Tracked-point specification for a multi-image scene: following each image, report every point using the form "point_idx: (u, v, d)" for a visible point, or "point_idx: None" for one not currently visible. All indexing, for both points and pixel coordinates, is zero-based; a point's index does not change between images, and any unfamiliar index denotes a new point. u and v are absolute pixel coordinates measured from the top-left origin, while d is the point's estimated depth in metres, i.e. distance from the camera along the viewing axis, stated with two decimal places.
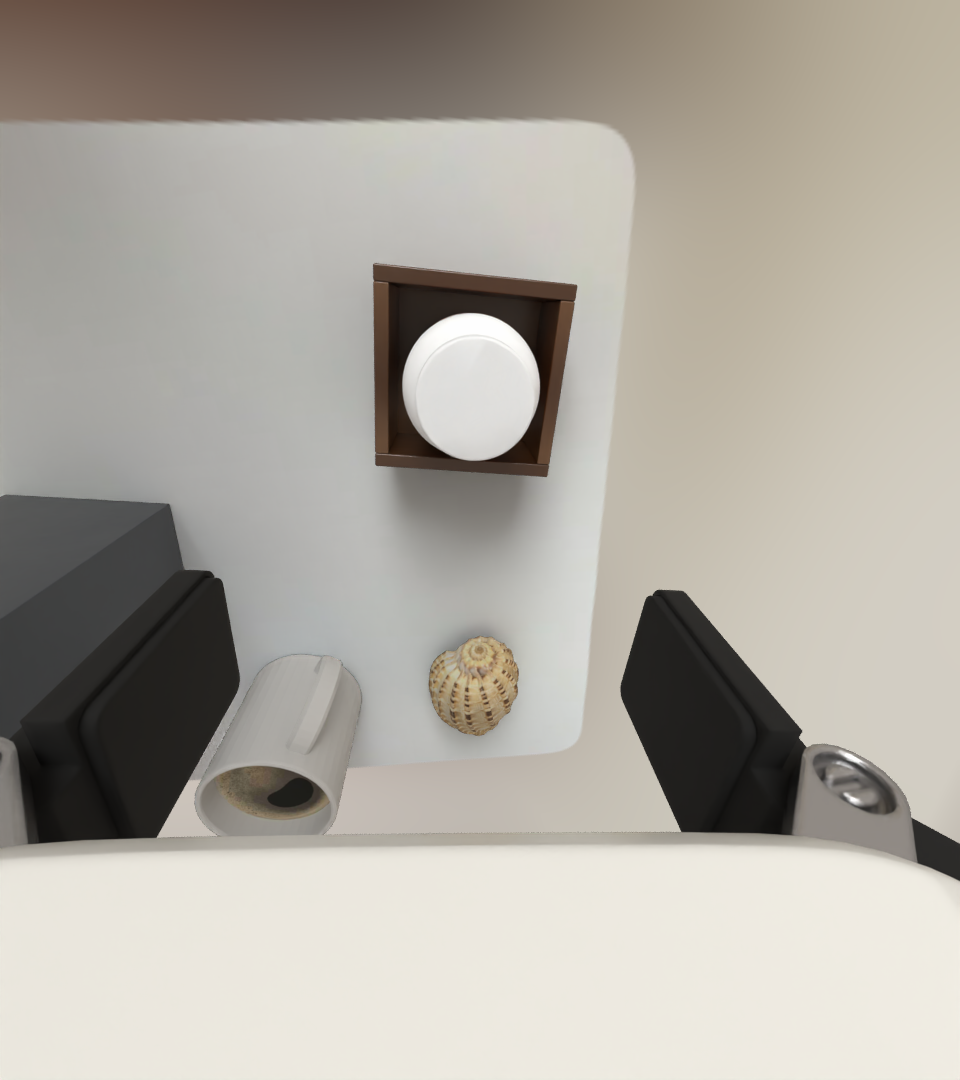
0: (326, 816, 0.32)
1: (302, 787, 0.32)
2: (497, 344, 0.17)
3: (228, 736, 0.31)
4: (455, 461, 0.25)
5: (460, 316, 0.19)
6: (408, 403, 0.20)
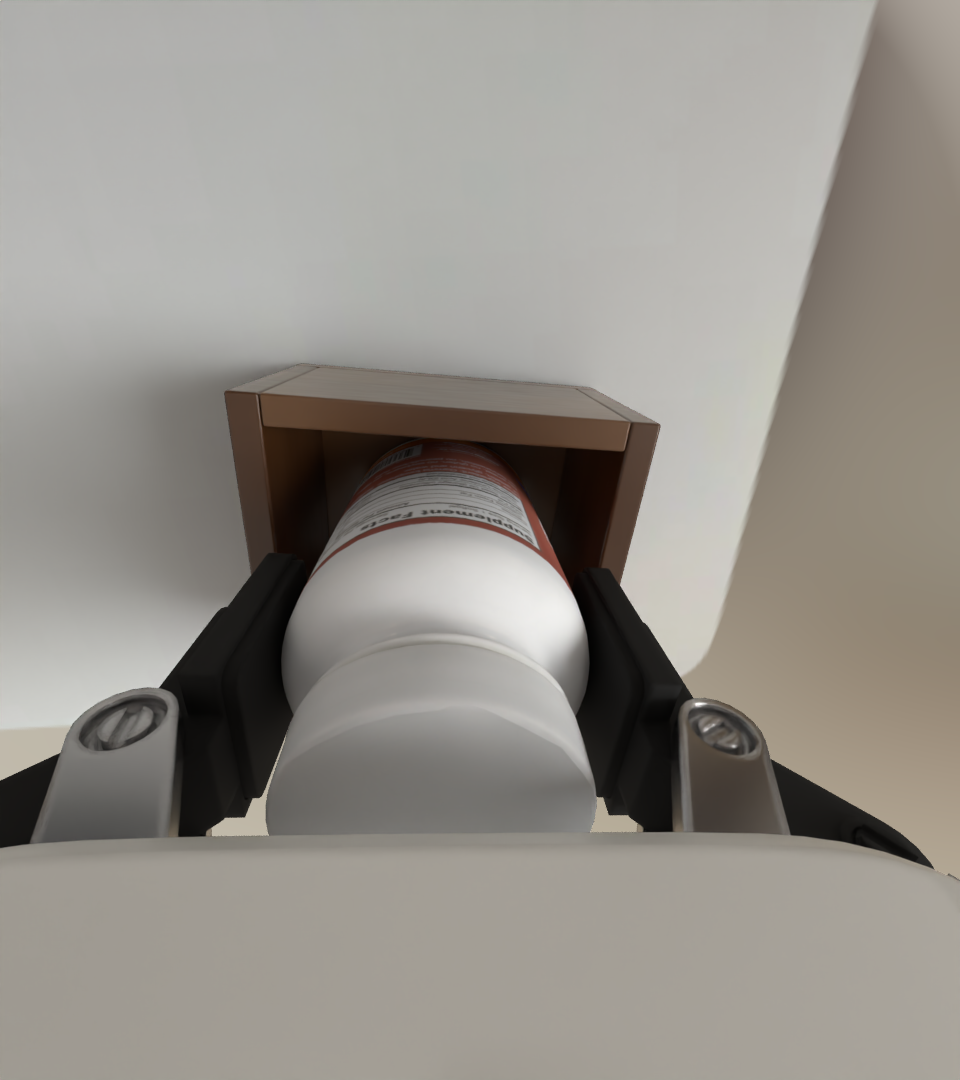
0: None
1: None
2: None
3: None
4: None
5: (588, 654, 0.09)
6: (404, 566, 0.08)
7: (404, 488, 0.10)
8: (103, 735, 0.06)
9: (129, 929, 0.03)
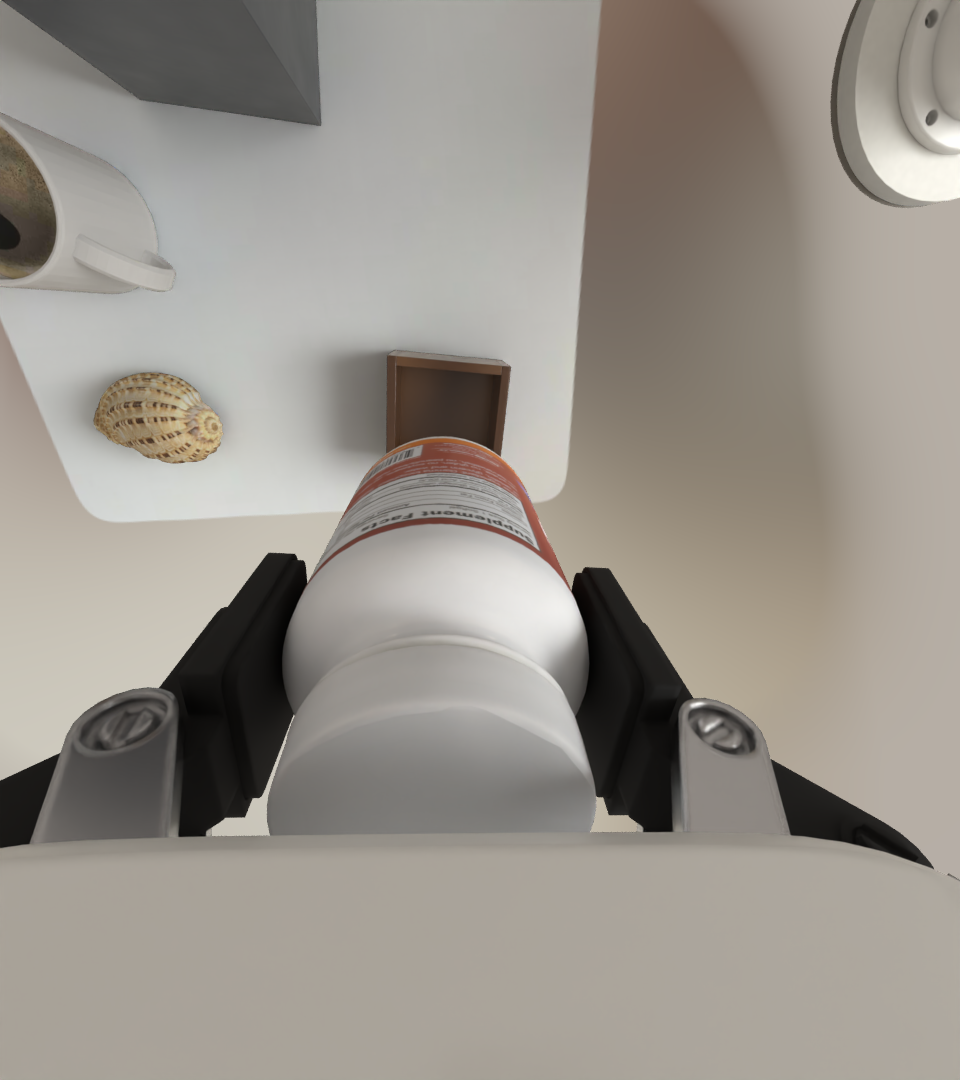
0: None
1: (2, 236, 0.28)
2: None
3: (57, 149, 0.27)
4: (393, 413, 0.36)
5: (588, 655, 0.09)
6: (405, 567, 0.08)
7: (404, 489, 0.10)
8: (103, 735, 0.06)
9: (129, 929, 0.03)
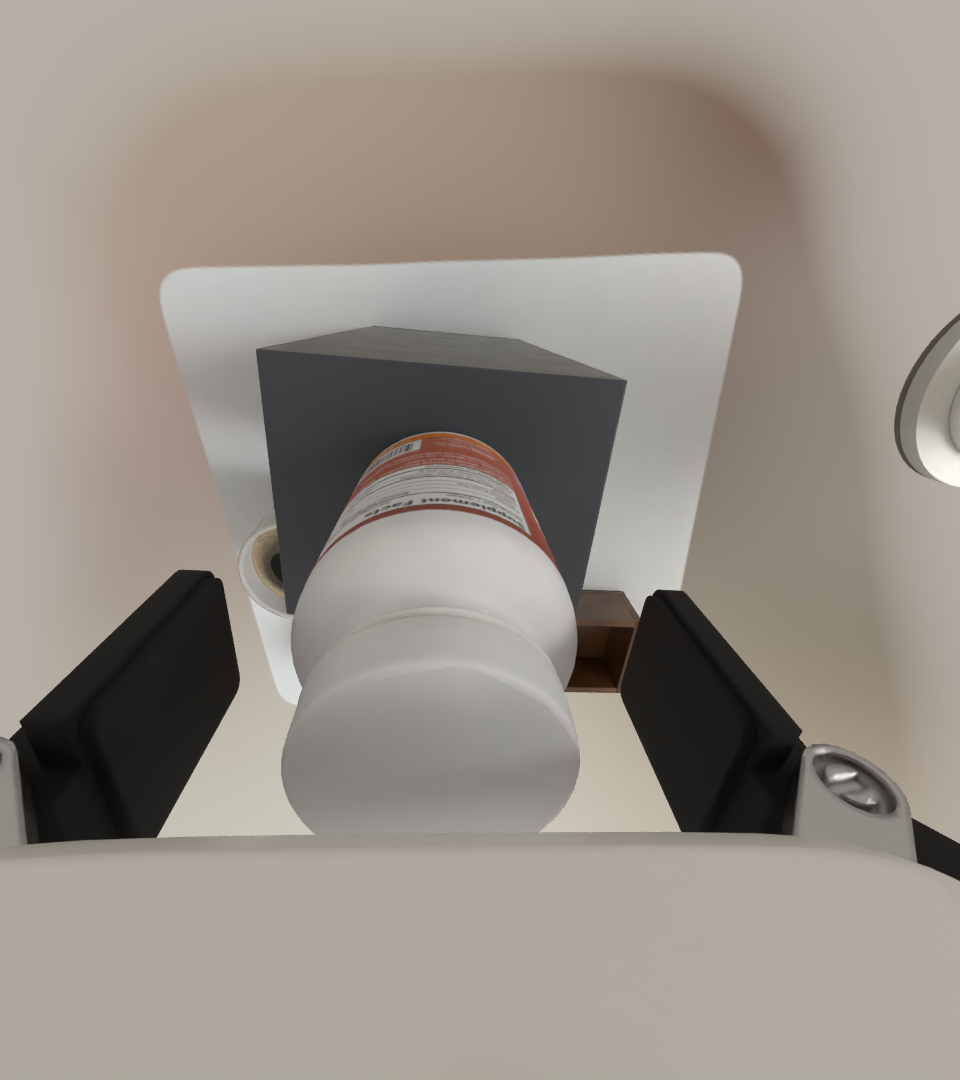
0: (277, 604, 0.38)
1: None
2: (560, 807, 0.08)
3: None
4: None
5: (576, 632, 0.10)
6: (405, 548, 0.08)
7: (404, 479, 0.11)
8: None
9: (129, 929, 0.03)
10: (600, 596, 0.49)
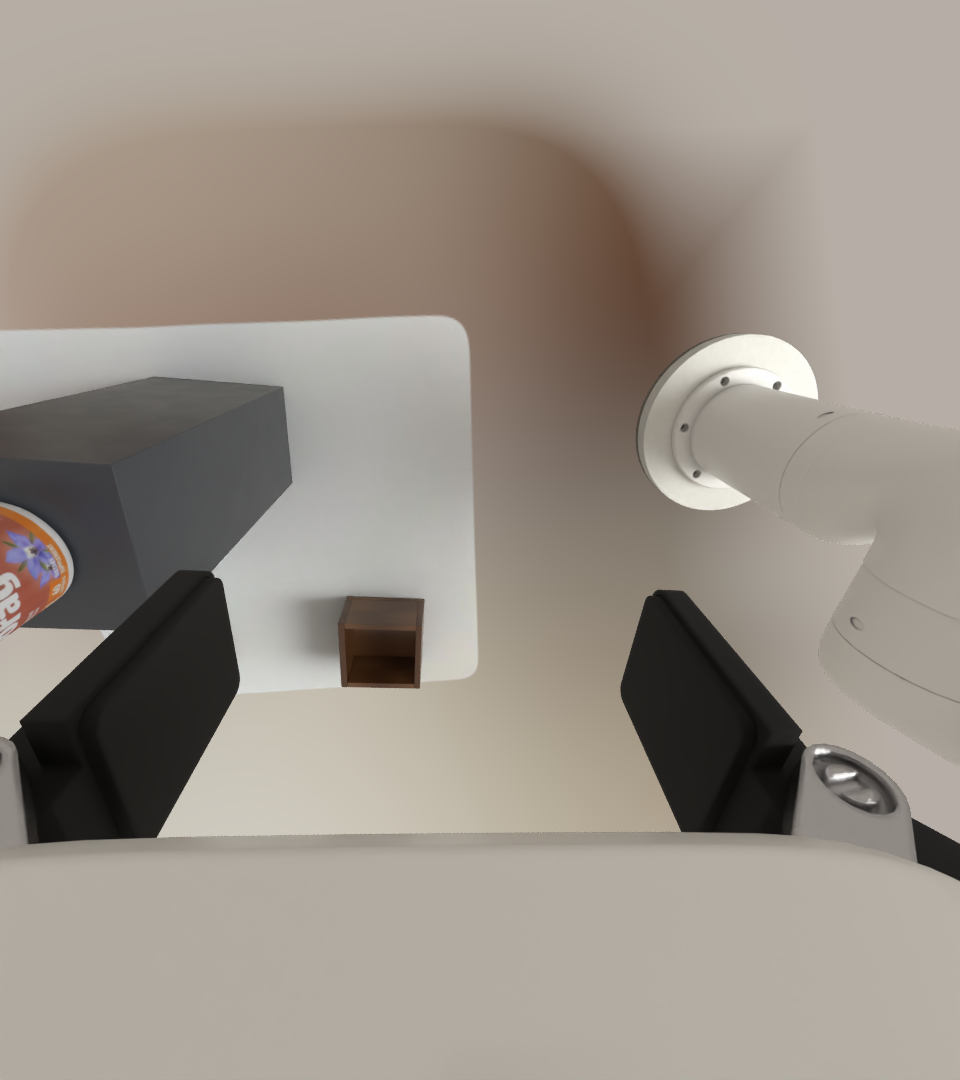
0: None
1: None
2: None
3: None
4: (344, 653, 0.54)
5: None
6: None
7: None
8: None
9: (129, 929, 0.03)
10: (399, 603, 0.56)
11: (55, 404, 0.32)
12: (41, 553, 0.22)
